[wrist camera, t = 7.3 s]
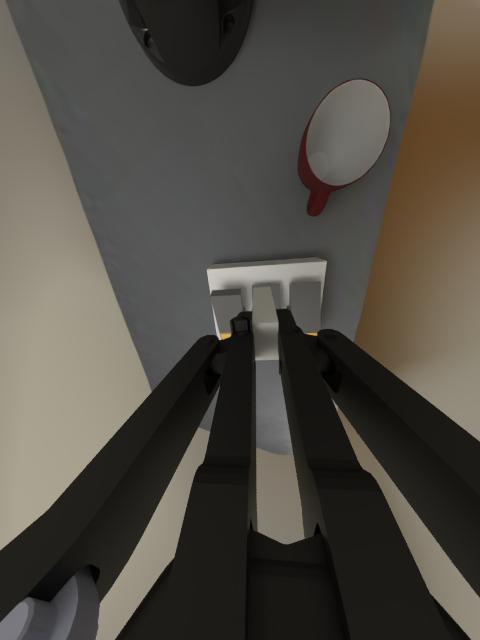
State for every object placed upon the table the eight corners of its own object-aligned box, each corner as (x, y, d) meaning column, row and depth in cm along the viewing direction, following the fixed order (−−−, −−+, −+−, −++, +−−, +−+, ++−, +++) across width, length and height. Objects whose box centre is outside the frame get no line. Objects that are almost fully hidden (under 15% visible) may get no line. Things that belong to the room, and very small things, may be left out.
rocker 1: (211, 290, 27) (209, 297, 26) (240, 288, 27) (240, 296, 26) (222, 334, 34) (221, 342, 33) (245, 333, 34) (245, 341, 32)
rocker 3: (289, 283, 29) (291, 282, 27) (317, 282, 29) (321, 281, 27) (290, 343, 31) (292, 347, 29) (317, 343, 30) (321, 346, 28)
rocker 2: (252, 286, 31) (251, 284, 29) (278, 285, 30) (280, 283, 28) (254, 346, 31) (254, 348, 29) (280, 345, 30) (282, 347, 28)
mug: (334, 217, 30) (369, 212, 21) (284, 218, 30) (297, 213, 21) (351, 130, 25) (404, 74, 16) (291, 133, 26) (311, 81, 17)
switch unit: (212, 264, 34) (203, 271, 28) (316, 257, 32) (331, 263, 26) (222, 334, 41) (217, 352, 35) (309, 331, 39) (319, 350, 33)
